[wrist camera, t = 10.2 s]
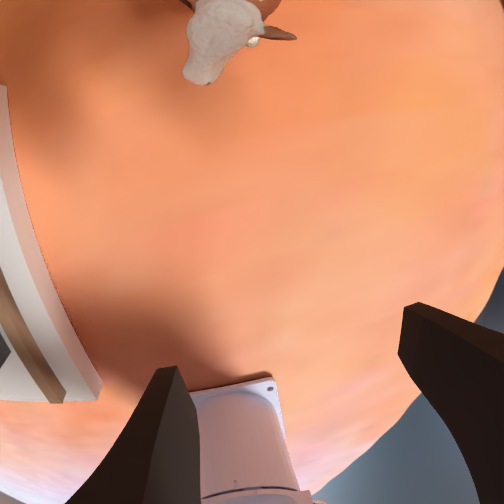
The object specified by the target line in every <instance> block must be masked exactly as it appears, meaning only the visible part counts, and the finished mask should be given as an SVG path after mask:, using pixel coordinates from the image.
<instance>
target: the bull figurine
mask: <svg viewBox="0 0 504 504" xmlns="http://www.w3.org/2000/svg"><path fill="white" fill-rule="evenodd" d="M180 1H181V2H182V3H184V4H186V5H187V6H188V7H189V8H190V9H191V10H192V11H194V12H195V14H194V15H193V16H192V17H191V19H190V20H189V21H188V23H187V29H186V36H187V39H188V41H189V51H190V52H189V57H188V58H187V60H186V62H185V64H184V66H183V69H182V76H183V77H184V78H185V79H186V80H188V81H190V82H192V83H193V84H196V85H200V86H207V85H210V84H212V83H214V82H215V81H216V80H217V78H218V77H219V76H220V74H221V73H222V71H223V68H224V65H225V64H226V63H227V62H228V61H229V60H230V59H231V58H232V57H233V56H234V55H235V54H236V53H237V52H238V51H239V50H240V49H242V48H243V47H244V46H245V45H246V46H248V47H255V46H257V45H258V43H259V40H260V39H259V37H261V38H266V39H271V40H296V39H297V38H296V36H295V35H293V34H291V33H288V32H285V31H283V30H281V29H279V28H277V27H273V26H268V25H266V24H264V23H263V22H264V21H265V19H266V18H267V17H268V15H270V14H272V13H273V12H274V11H275V10H276V8H277V7H278V6H279V4H280V2H281V0H180Z"/></svg>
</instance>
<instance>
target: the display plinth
mask: <svg viewBox="0 0 504 504" xmlns="http://www.w3.org/2000/svg"><path fill="white" fill-rule="evenodd" d="M0 333H1V335H2V337H3V338H4V340H5V342H6V344H7V345H8V347H9V349H10V350H11V353H10V355H9V356H8V358H7V359H6V361H5V362H4V364H3V365H2V367H1V368H0V400H12V401H44V402H50V403H63V401H91V400H98V397H99V393H100V390H101V387H102V384H103V381H102V380H101V378H100V376H99V375H98V373H97V371H96V369H95V368H94V366H93V364H92V363H91V361H90V359H89V357H88V355H87V354H86V352H85V350H84V348H83V346H82V344H81V342H80V340H79V338H78V337H77V335H76V333H75V331H74V329H73V327H72V325H71V322H70V320H69V318H68V316H67V314H66V312H65V310H64V308H63V305H62V303H61V301H60V299H59V296H58V294H57V292H56V289H55V287H54V284H53V282H52V280H51V277H50V274H49V272H48V269H47V267H46V264H45V261H44V259H43V256H42V253H41V250H40V247H39V244H38V241H37V238H36V235H35V232H34V229H33V226H32V223H31V219H30V216H29V212H28V209H27V205H26V201H25V198H24V194H23V190H22V185H21V181H20V177H19V172H18V167H17V162H16V157H15V152H14V146H13V140H12V133H11V126H10V118H9V108H8V97H7V86H5V85H0Z"/></svg>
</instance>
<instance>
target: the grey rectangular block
mask: <svg viewBox="0 0 504 504" xmlns="http://www.w3.org/2000/svg"><path fill="white" fill-rule="evenodd" d="M10 353H11V350H10V349H9V347H8V345H7V344H6V342H5V340H4V338H3V337H2V335H1V333H0V368H1V367H2V365H3V364H4V362H5V361H6V359H7V358H8V356H9V355H10Z"/></svg>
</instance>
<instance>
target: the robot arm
mask: <svg viewBox="0 0 504 504" xmlns="http://www.w3.org/2000/svg"><path fill="white" fill-rule="evenodd" d="M398 356H399V358H400V360H401V361H402V363H403V365H404V367H405V369H406V370H407V372H408V374H409V375H410V377H411V378H412V380H413V381H414V383H415V384H416V385H417V387H418V388H419V389H420V390H421V392H422V393H423V394H424V396H425V397H426V398H427V399H428V401H429V402H430V404H431V405H432V406H433V408H434V409H435V410H436V411H437V413H438V414H439V415H440V417H441V418H442V420H443V421H444V422H445V424H446V425H447V427H448V428H449V430H450V432H451V433H452V435H453V437H454V439H455V441H456V443H457V444H458V447H459V449H460V450H461V453H462V455H463V457H464V459H465V462H466V464H467V466H468V468H469V471H470V473H471V476H472V479H473V481H474V484H475V487H476V491H477V494H478V498H479V501H480V504H504V334H503V333H500V332H497V331H494V330H491V329H488V328H485V327H482V326H480V325H477V324H475V323H472V322H469V321H467V320H464V319H462V318H459V317H457V316H455V315H452V314H450V313H447V312H445V311H442V310H440V309H437V308H434V307H432V306H429V305H426V304H423V303H420V302H417V303H414V304H412V305H409V306H406V307H404V311H403V320H402V328H401V335H400V342H399V349H398ZM268 387H270V388H268ZM285 441H286V436H285V430H284V425H283V419H282V414H281V408H280V403H279V397H278V391H277V386H276V381H275V379H274V378H273V377H266V378H262V379H258V380H253V381H249V382H244V383H239V384H234V385H229V386H224V387H219V388H213V389H208V390H202V391H196V392H190V393H189V392H188V390H187V388H186V385H185V383H184V381H183V379H182V376H181V374H180V372H179V369H178V367H177V366H172V367H165V368H159V369H157V370H156V372H155V373H154V375H153V377H152V379H151V381H150V383H149V384H148V386H147V388H146V390H145V392H144V394H143V396H142V398H141V399H140V401H139V403H138V405H137V407H136V408H135V410H134V412H133V414H132V415H131V417H130V419H129V421H128V422H127V424H126V426H125V427H124V429H123V431H122V432H121V434H120V435H119V437H118V438H117V440H116V441H115V443H114V445H113V446H112V448H111V449H110V451H109V452H108V454H107V455H106V456H105V458H104V459H103V461H102V462H101V463H100V465H99V466H98V467H97V468H96V470H95V471H94V472H93V473H92V475H91V476H90V477H89V478H88V479H87V481H86V482H85V483H84V484H83V485H82V486H81V487H80V488H79V489H78V490H77V491H76V493H75V494H74V495H73V496H72V497H71V498H70V499H69V500H68V501H67V502H66V503H65V504H326V503H324V502H322V501H313V500H312V497H311V494H310V491H309V490H306V491H300V489H299V485H298V482H297V479H296V476H295V472H294V469H293V466H292V463H291V459H290V456H289V453H288V449H287V446H286V443H285Z"/></svg>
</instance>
